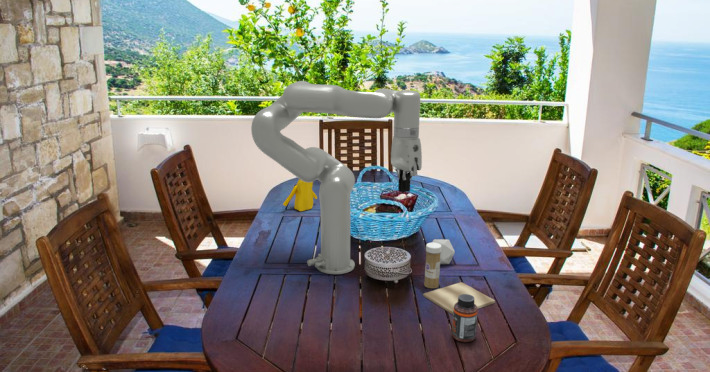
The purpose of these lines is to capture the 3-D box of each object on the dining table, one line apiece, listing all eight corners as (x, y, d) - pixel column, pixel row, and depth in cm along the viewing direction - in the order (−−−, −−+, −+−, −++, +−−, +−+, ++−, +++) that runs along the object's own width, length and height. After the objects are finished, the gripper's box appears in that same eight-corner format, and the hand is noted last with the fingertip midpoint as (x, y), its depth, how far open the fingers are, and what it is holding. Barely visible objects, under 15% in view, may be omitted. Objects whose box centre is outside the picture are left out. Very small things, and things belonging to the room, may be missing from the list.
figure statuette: (314, 203, 252) (314, 154, 246) (325, 207, 246) (325, 157, 240) (280, 211, 241) (278, 160, 235) (290, 216, 235) (289, 163, 229)
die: (447, 271, 187) (462, 246, 188) (424, 257, 187) (439, 232, 188) (442, 270, 195) (457, 246, 196) (421, 256, 195) (435, 232, 196)
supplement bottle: (449, 331, 150) (451, 291, 147) (471, 330, 151) (474, 291, 148) (454, 343, 145) (457, 303, 141) (478, 342, 145) (481, 302, 142)
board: (455, 316, 158) (455, 313, 158) (423, 296, 169) (423, 293, 169) (494, 302, 166) (495, 300, 165) (461, 284, 177) (461, 281, 177)
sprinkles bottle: (421, 285, 175) (423, 244, 172) (429, 281, 179) (431, 240, 175) (433, 290, 173) (435, 248, 169) (442, 285, 176) (444, 244, 172)
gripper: (432, 135, 168) (429, 195, 173) (401, 127, 180) (399, 183, 186) (411, 138, 164) (409, 199, 169) (381, 129, 176) (380, 187, 182)
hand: (404, 191), depth 177 cm, fingers closed
